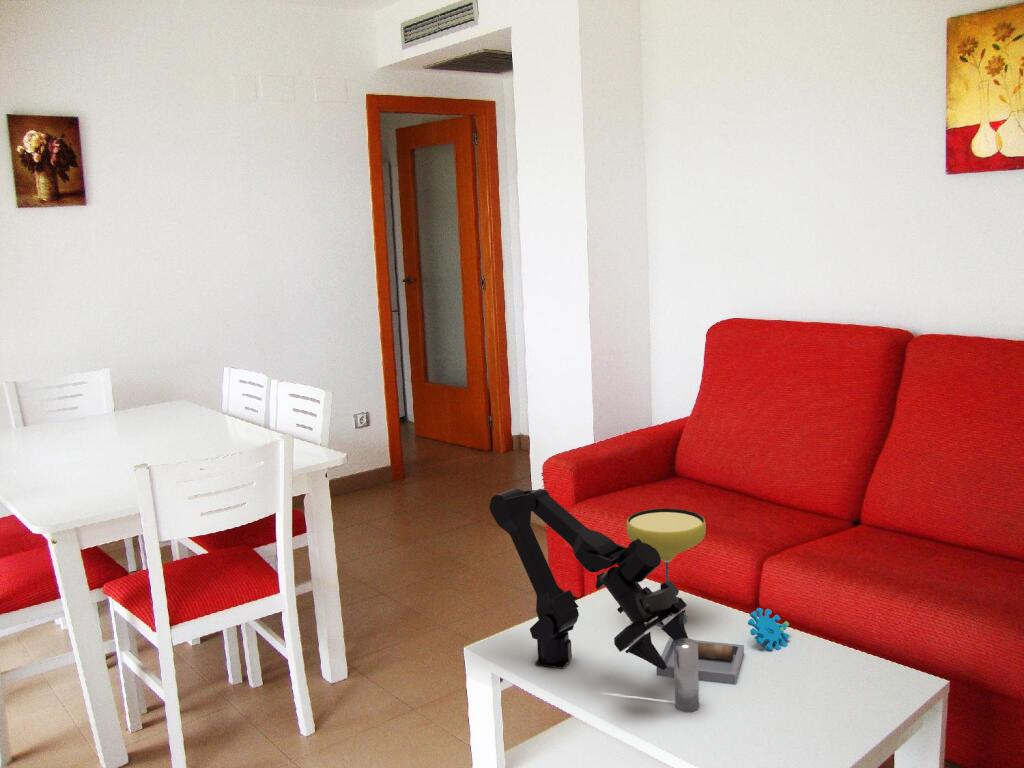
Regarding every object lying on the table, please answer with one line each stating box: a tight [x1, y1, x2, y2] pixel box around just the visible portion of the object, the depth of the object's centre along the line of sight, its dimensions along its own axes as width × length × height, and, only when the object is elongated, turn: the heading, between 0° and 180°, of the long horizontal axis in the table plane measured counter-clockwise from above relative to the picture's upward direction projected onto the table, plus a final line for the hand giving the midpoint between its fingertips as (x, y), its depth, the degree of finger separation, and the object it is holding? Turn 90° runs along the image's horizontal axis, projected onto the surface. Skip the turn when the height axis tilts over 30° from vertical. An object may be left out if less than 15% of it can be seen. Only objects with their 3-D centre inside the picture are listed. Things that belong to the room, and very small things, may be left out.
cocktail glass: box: [626, 508, 707, 628], centre depth 222 cm, size 18×18×25 cm
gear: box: [747, 607, 790, 652], centre depth 210 cm, size 11×6×10 cm
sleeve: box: [673, 637, 700, 713], centre depth 184 cm, size 5×5×13 cm
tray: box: [656, 636, 745, 685], centre depth 201 cm, size 16×14×3 cm
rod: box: [698, 643, 733, 661], centre depth 203 cm, size 7×3×3 cm, turn 70°
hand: (678, 659), depth 185 cm, fingers open, 9 cm apart
